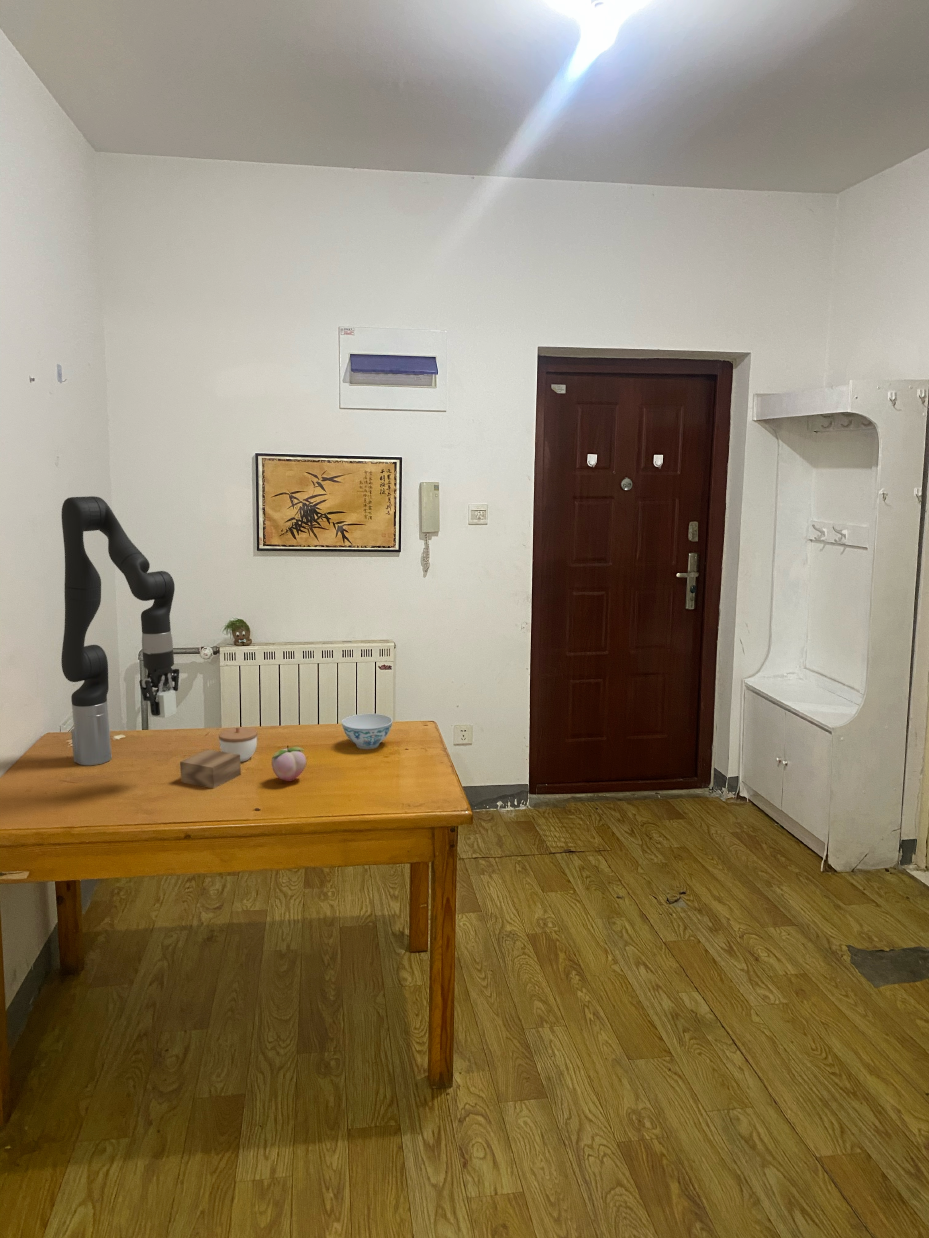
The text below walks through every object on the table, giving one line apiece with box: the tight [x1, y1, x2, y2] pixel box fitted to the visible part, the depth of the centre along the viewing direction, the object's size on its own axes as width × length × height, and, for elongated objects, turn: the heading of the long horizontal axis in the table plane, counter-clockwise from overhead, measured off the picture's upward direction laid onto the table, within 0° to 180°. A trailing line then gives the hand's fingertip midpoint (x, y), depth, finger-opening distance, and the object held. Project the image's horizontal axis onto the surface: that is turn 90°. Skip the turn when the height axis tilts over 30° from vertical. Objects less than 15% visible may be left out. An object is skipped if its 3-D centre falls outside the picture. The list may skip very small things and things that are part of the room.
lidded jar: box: [218, 726, 258, 763], centre depth 255 cm, size 11×11×9 cm
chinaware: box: [341, 713, 393, 750], centre depth 266 cm, size 15×15×8 cm
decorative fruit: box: [271, 745, 307, 782], centre depth 238 cm, size 9×8×10 cm
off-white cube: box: [147, 690, 178, 719], centre depth 233 cm, size 5×5×6 cm
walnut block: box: [179, 748, 242, 789], centre depth 240 cm, size 11×11×6 cm
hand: (162, 711), depth 233 cm, fingers closed on off-white cube, 5 cm apart
